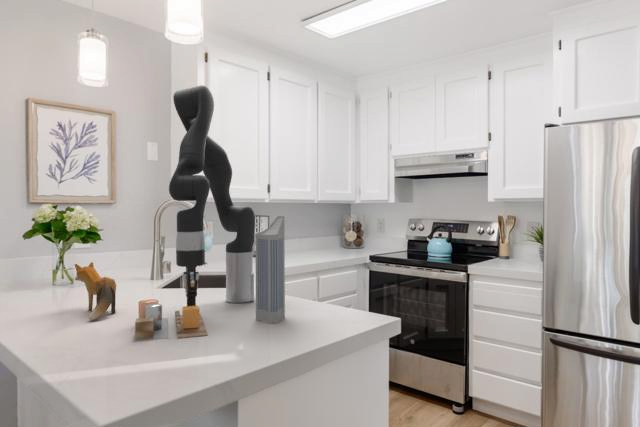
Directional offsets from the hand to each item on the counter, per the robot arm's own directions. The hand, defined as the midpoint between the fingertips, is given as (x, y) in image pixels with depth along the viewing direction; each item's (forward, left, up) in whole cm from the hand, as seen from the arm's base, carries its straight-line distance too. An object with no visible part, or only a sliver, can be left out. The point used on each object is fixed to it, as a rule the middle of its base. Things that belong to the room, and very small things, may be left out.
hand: (191, 310), depth 119 cm
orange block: (+1, +7, -2) cm, 7 cm away
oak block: (+12, +10, -3) cm, 16 cm away
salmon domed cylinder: (+11, -2, -3) cm, 12 cm away
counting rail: (+1, +4, -4) cm, 6 cm away
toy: (+27, -24, -5) cm, 37 cm away
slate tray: (+10, +4, -4) cm, 11 cm away
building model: (-22, +1, -4) cm, 22 cm away
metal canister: (+10, +4, -3) cm, 11 cm away
